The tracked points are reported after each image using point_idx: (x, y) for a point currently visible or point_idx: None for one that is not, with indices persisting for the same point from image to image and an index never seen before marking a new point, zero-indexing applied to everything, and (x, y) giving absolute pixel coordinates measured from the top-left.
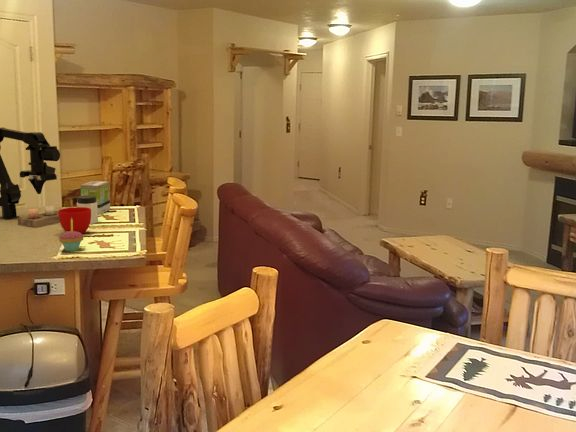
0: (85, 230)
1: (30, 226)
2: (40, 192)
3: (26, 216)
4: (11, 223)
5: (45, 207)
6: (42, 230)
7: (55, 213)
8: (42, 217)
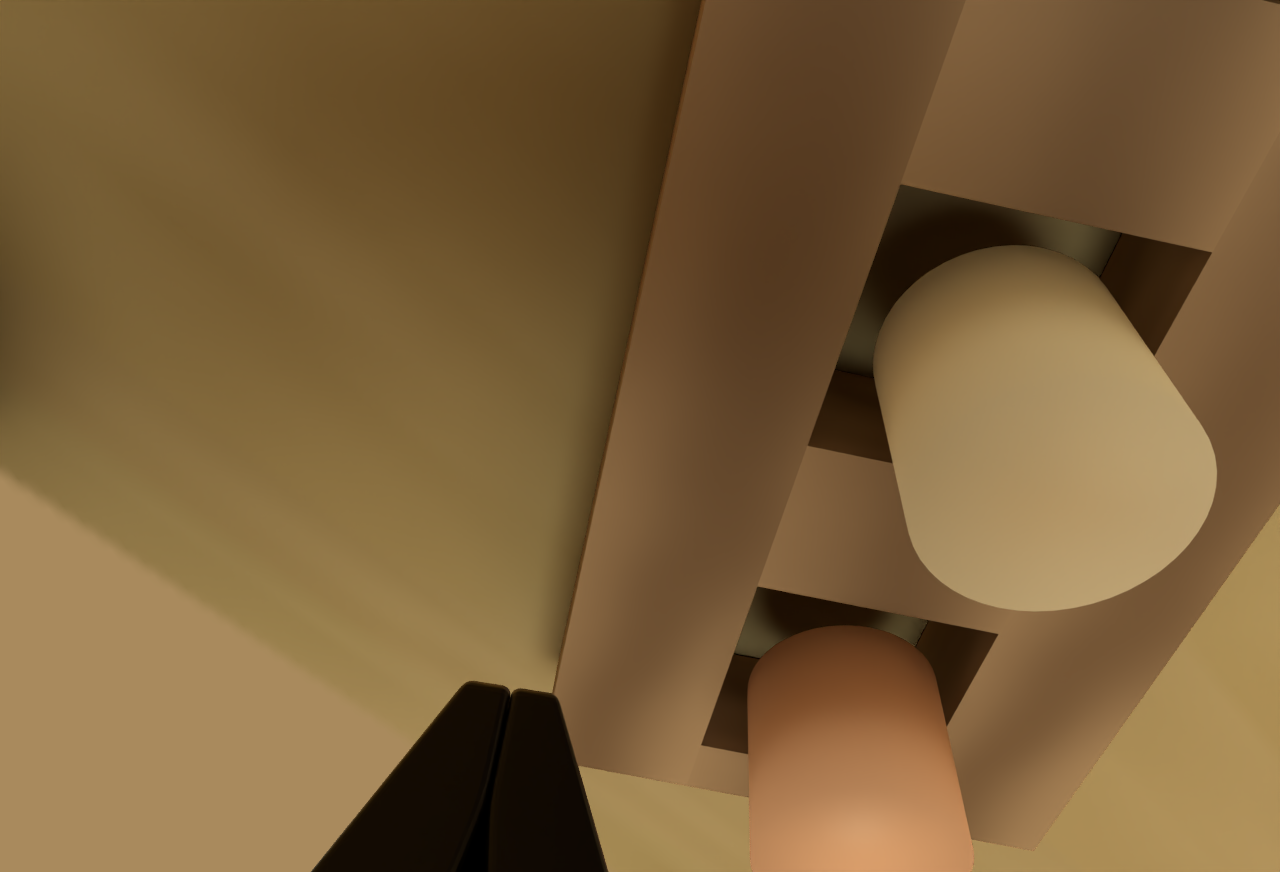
0: None
1: None
2: (566, 766)
3: (576, 626)
4: (369, 620)
5: (985, 595)
6: (1230, 838)
7: (1035, 136)
8: (990, 621)
